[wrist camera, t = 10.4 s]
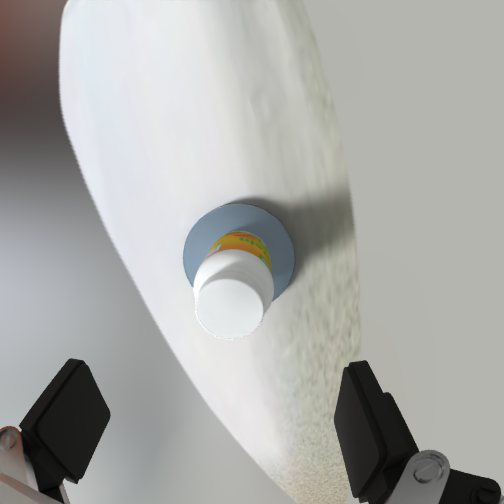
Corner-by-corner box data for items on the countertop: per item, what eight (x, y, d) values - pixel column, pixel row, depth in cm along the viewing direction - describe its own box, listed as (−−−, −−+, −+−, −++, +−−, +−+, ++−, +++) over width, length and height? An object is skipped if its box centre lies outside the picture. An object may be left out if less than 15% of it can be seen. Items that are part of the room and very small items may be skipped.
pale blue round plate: (181, 206, 25) (177, 208, 24) (291, 200, 25) (293, 202, 24) (193, 305, 28) (190, 312, 27) (292, 302, 28) (294, 309, 26)
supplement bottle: (283, 257, 25) (297, 307, 16) (243, 298, 26) (235, 363, 17) (236, 216, 24) (222, 245, 15) (197, 261, 25) (165, 312, 16)
